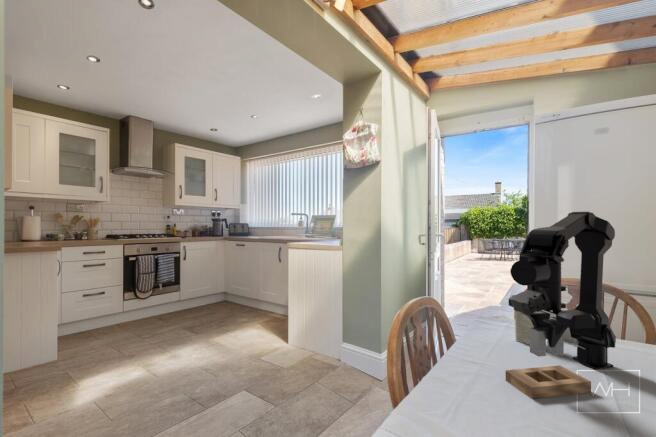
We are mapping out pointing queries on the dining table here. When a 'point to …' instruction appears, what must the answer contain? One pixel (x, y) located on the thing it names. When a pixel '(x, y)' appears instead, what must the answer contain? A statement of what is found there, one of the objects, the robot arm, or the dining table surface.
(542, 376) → the two-slot wooden tray
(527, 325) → the skincare box
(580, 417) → the dining table surface
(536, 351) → the clip
